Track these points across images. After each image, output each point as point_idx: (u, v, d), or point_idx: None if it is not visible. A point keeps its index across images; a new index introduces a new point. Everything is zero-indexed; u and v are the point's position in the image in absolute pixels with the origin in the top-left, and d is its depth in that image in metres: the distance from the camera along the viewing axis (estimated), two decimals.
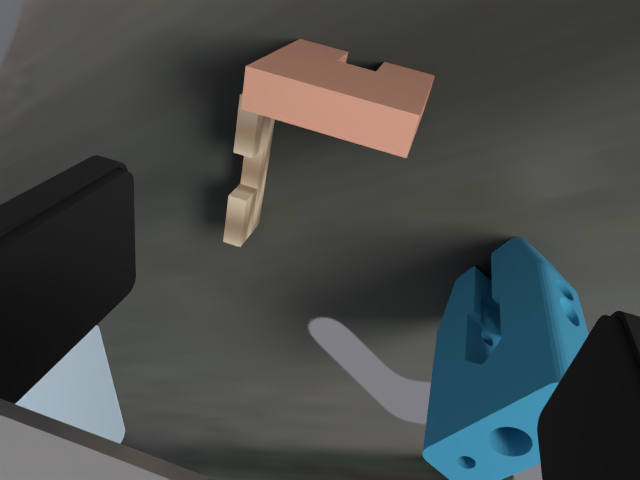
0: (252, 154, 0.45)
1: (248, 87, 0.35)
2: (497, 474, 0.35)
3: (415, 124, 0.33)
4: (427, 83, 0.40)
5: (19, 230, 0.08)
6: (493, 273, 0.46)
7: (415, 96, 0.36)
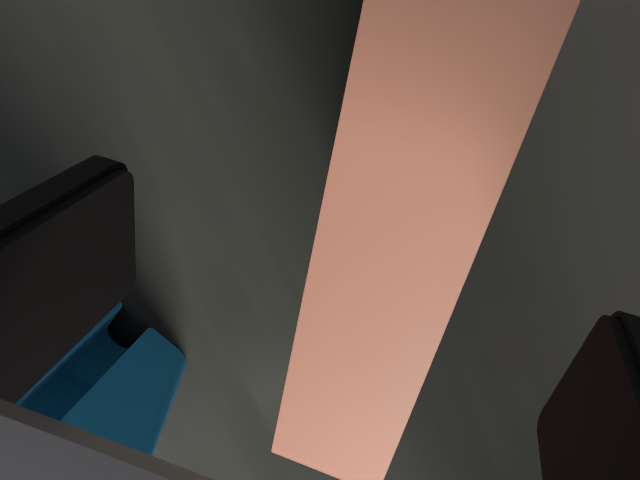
0: None
1: (475, 2, 0.07)
2: None
3: None
4: None
5: (19, 230, 0.08)
6: (113, 369, 0.28)
7: None
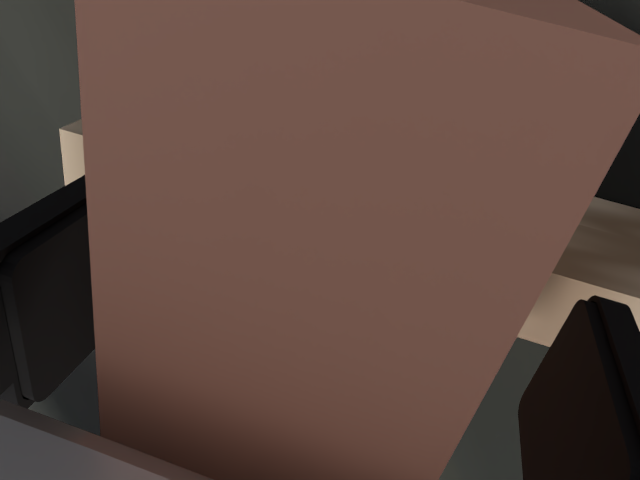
0: None
1: (356, 59, 0.03)
2: None
3: None
4: None
5: (53, 228, 0.08)
6: None
7: None
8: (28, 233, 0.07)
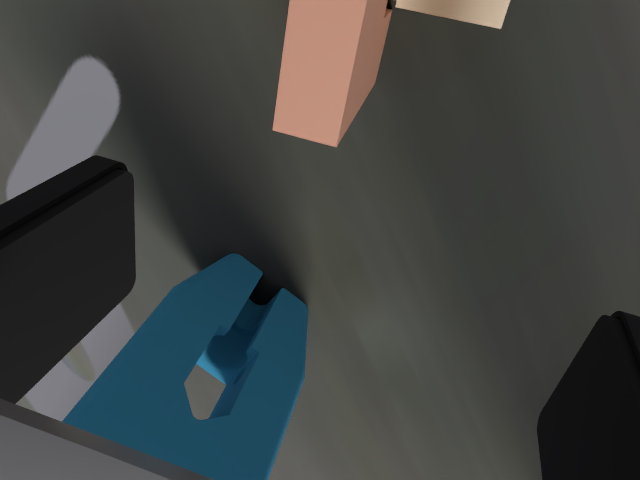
0: (402, 7, 0.26)
1: None
2: None
3: (323, 141, 0.23)
4: (368, 90, 0.30)
5: (19, 230, 0.08)
6: (270, 315, 0.40)
7: (356, 105, 0.26)
8: None
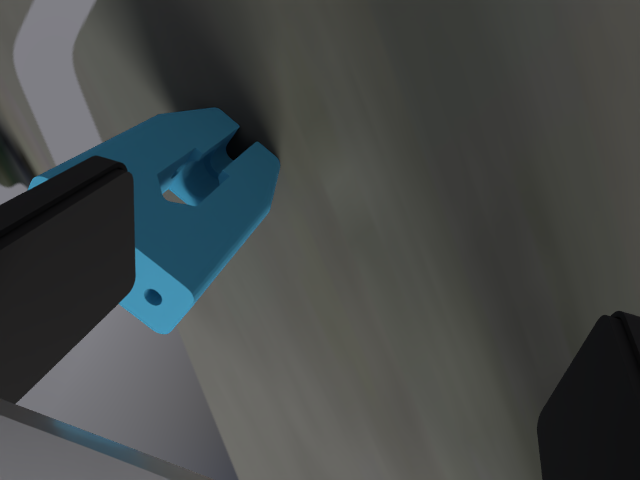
0: None
1: None
2: None
3: None
4: None
5: (19, 230, 0.08)
6: (242, 155, 0.44)
7: None
8: None
